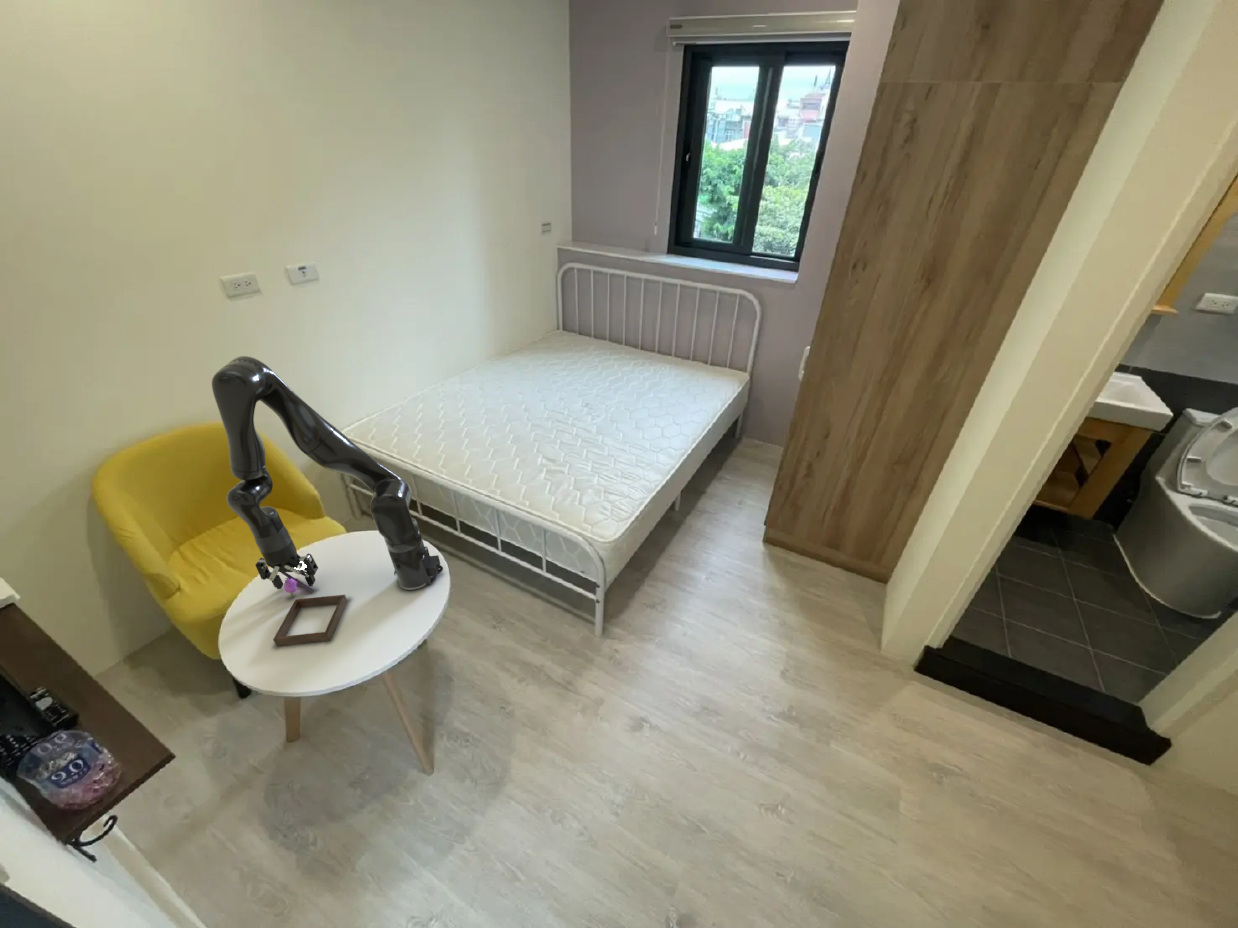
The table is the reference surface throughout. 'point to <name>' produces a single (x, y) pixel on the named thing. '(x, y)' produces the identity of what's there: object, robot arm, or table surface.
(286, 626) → the brown square frame
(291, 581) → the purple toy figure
